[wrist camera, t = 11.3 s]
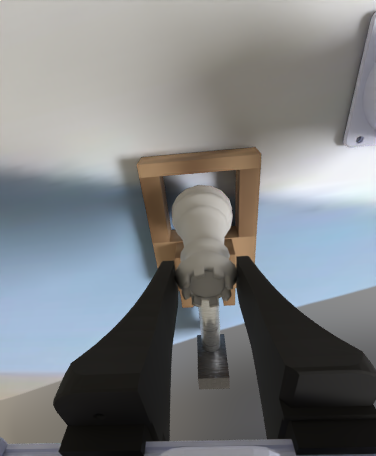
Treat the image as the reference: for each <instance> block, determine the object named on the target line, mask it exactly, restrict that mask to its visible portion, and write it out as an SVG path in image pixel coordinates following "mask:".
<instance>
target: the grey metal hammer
mask: <svg viewBox="0 0 376 456" xmlns="http://www.w3.org/2000/svg"><path fill="white" fill-rule="evenodd" d="M218 301H219V299H218ZM198 309H199V319H200V328H201V335H197V342H198V343H197V345H198V381H199V389H222V388H223V389H225V388H229V371H228V363H227V355H226V347H225V339H224V334H220V321H219V306H216V307H212V308H210V306H209V301H202V305H201V307H198Z"/></svg>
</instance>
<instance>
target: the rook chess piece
mask: <svg viewBox="0 0 376 456" xmlns="http://www.w3.org/2000/svg"><path fill="white" fill-rule="evenodd" d="M232 217H233V214H232V207H231V204H230V200H229V198H228V197H227V196H226V195H225V194H224V193H223V192H222V191H221V190H219V189H217V188H214V187H212V186H205V185H197V186H194V187H191V188H188V189H185V190H184V191H183V192H182V193H181V194H179V195H178V196H177V198H176V200H175V202H174V204H173V206H172V223H173V226H174V228H175V230H176V232H177V234H178V235H179V236H180V237H181V239H182V240H183V244H184V248H183V250H182V252H181V256H180V261H181V263H180V264H179V266H178V267H177V269H176V271H175V281H176V283H177V284H178V286H179V288H180V289H181V290H182V295H183V297H184V299H185V300H187V299H189V298H190V297H191V298H192V305H194V306H197V307H201V305H202V301H209V306H210V308H212V307H216V306H219V301H218V299H219V298H220V297H222V299H223V300H224V301H226V302H227V301H228V300H229V298H230V297H231V296H232V294H231V289H233V286H234V284H235V283H236V281H237V276H238V272H237V269H236V266H235V264H233V263H232V262H231V261H230V260H229V257H230V254H229V251H228V249H227V247H226V246H225V245H224V237H225V236H226V234H227V232H228V231H229V229H230V228H231V223H232Z"/></svg>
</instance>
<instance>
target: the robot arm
mask: <svg viewBox="0 0 376 456" xmlns="http://www.w3.org/2000/svg"><path fill="white" fill-rule="evenodd" d="M358 137H361V139H360V140H359V141H358V142H356V139H357V138H358ZM343 143H344V145H345V146H347V147H359V146H371V145H376V12H375V13H374V15H373V16H372V18H371V21H370V26H369V30H368V35H367V39H366V43H365V48H364V52H363V56H362V61H361V65H360V70H359V74H358V78H357V83H356V87H355V92H354V96H353V100H352V105H351V109H350V113H349V118H348V122H347V127H346V131H345V135H344V140H343ZM236 269H237V272H238V276H237V281H236V287H237V294H238V300H239V304H240V308H241V311H242V315H243V319H244V322H245V326H246V329H247V333H248V336H249V340H250V344H251V348H252V353H253V358H254V364H255V369H256V375H257V380H258V386H259V392H260V398H261V404H262V410H263V416H264V423H265V429H266V436H267V440H212V441H169V438H170V437H169V436H170V432H169V431H170V387H171V358H172V345H173V337H174V330H175V323H176V315H177V308H178V284H177V283H176V281H175V265H174V260H172V261H162V262H161V264H160V266H159V268H158V270H157V272H156V273H155V275H154V277H153V279H152V280H151V282H150V283H149V285H148V286H147V288H146V290H145V291H144V292H143V294H142V295H141V297H140V298H139V299H138V301H137V302H136V303H135V305H134V306H133V307H132V308H131V310H130V311H129V312H128V313H127V314H126V315H125V317H124V318H123V319H122V320H121V321H120V322H119V323H118V324H117V325H116V326H115V327H114V328H113V329H112V330H111V331H110V332H109V333H108V334H107V335H106V336H104V337H103V338H102V339H101V340H100V341H99V342H98V343H97V344H95V345H94V346H93V347H92V348H91V349H89V350H88V351H87V352H85V353H84V354H83V355H81V356H80V357H79V358H77V359H76V360H75V361H73V362H72V363H71V364H70V366H69V368H68V370H67V372H66V373H65V375H64V377H63V380H62V382H61V384H60V386H59V389H58V391H57V393H56V396H55V398H54V402H53V405H54V408H55V410H56V411H57V413H58V414H59V415H60V416H61V418H62V419H63V420H64V421H65V423H66V424H67V425H68V426H67V429H66V432H65V434H64V437H63V440H62V443H44V444H43V443H41V444H7V442H6V441H5V440H4V439H3V438H1V437H0V456H376V409H375V407H374V405H373V403H374V402H375V400H376V369H375V368H374V366H373V365H372V364H371V362H370V361H369V360H368V358H367V357H366V356H365V354H364V353H363V352H362V351H360V350H359V349H357V348H355V347H353V346H352V345H350V344H348V343H346V342H345V341H343V340H341V339H339V338H338V337H336V336H334V335H333V334H331V333H330V332H328V331H327V330H325V329H323V328H322V327H321V326H319V325H318V324H316V323H315V322H314V321H312V320H311V319H310V318H308V317H307V316H305V315H304V314H303V313H302V312H300V311H299V310H298V309H297V308H296V307H294V306H293V305H292V304H291V303H290V302H289V301H288V300H287V299H285V298H284V297H283V296H282V295H281V294H280V293H279V292H278V291H277V290H276V289H275V288H274V286H273V285H272V284H271V283H270V282H269V281H268V280H267V279H266V277H265V276H264V275H263V274H262V273H261V271H260V270H259V269H258V268H257V266H256V265H255V264H254V262H253V261H252V260H251V258H250V257H249V256H236Z"/></svg>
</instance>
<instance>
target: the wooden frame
mask: <svg viewBox="0 0 376 456" xmlns="http://www.w3.org/2000/svg"><path fill="white" fill-rule="evenodd" d="M137 169H138V174H139V179H140V184H141V189H142V194H143V198H144V203H145V208H146V213H147V218H148V223H149V228H150V233H151V238H152V243H153V247H154V252H155V257H156V262H157V267H158V268H159V266H160V264H161V262H162V261H172V260H174V265H175V271H176V269H177V267H178V266H179V264H180V263H181V261H180V256H181V252H182V250H183V248H184V244H183V240H182V239H181V237H180V236H179V235H178V234H177V232H176V230H171V225H170V218H169V212H168V205H167V199H166V192H165V185H164V179H163V176H169V175H181V174H193V173H205V172H217V171H228V170H236V194H235V226H231V228H230V229H229V231H228V232H227V234H226V236H225V237H224V245H225V246H226V247H227V249H228V251H229V254H230V257H229V260H230V261H231V262H232V263H233V264H235V266H236V256H249V257H250V258H251V260H252V261H253V262H254V264H255V250H256V234H257V218H258V202H259V186H260V170H261V153H260V152H259V151H258V150H257V148H256V147H252V148H240V149H229V150H218V151H207V152H196V153H185V154H174V155H162V156H151V157H141V159H140V161H139V162H138V164H137ZM235 288H237V287H236V283H235V284H234V286H233V289H231V294H232V296H231V297H230V298H229V300H228V301H227V302H226V301H224V300H223V303H224V306H227V305H235ZM178 291H180V295H181V301H182V308H188V307H193V305H192V298H191V297H190V298H189V299H187V300H185V299H184V297H183V295H182V290H181V289H180V288H179V286H178Z"/></svg>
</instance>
